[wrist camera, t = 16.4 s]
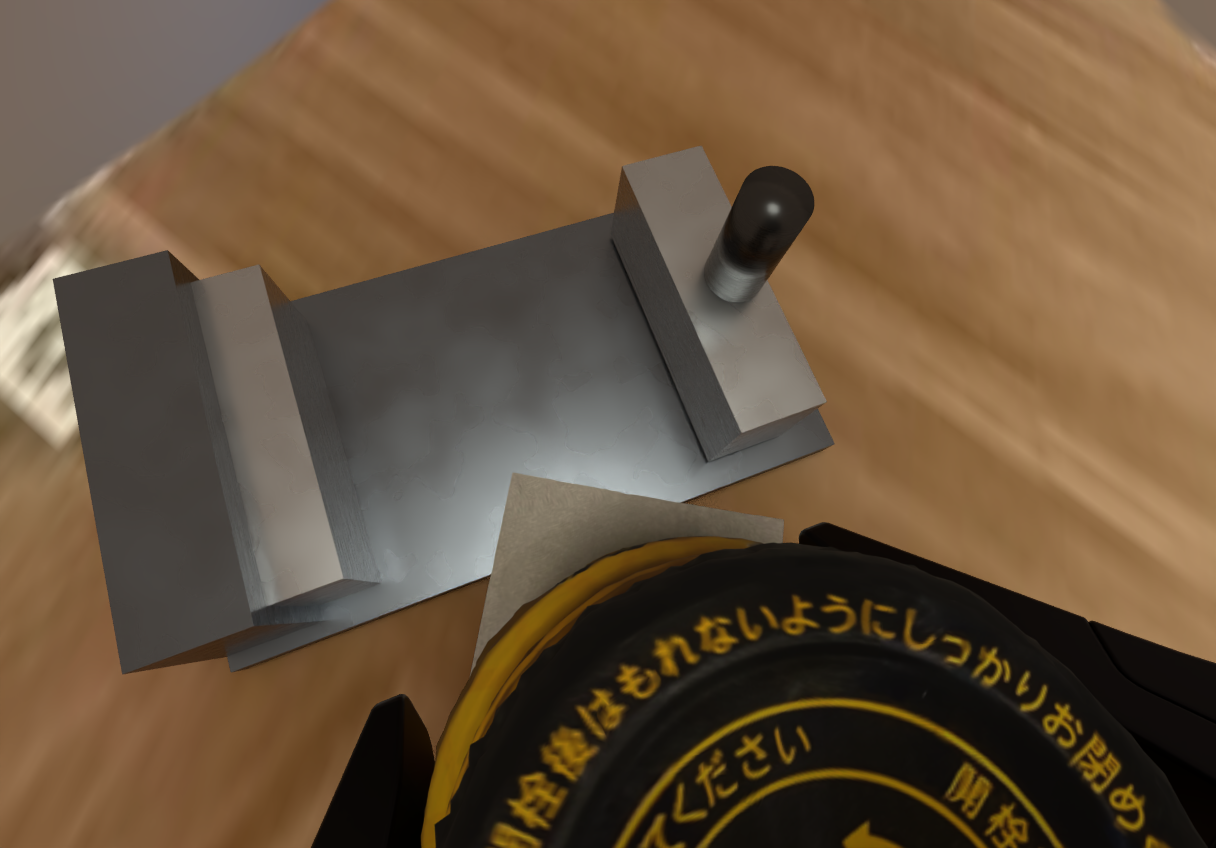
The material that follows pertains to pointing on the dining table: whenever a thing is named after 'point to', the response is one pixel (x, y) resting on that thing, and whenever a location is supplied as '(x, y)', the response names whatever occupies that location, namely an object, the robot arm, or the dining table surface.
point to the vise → (358, 433)
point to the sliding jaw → (718, 292)
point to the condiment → (764, 700)
